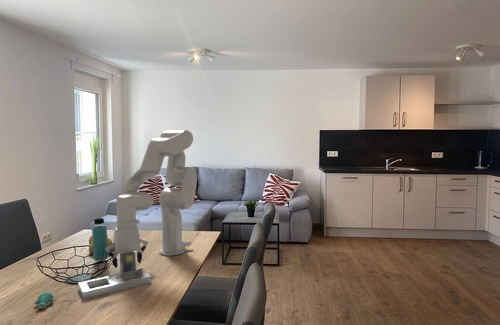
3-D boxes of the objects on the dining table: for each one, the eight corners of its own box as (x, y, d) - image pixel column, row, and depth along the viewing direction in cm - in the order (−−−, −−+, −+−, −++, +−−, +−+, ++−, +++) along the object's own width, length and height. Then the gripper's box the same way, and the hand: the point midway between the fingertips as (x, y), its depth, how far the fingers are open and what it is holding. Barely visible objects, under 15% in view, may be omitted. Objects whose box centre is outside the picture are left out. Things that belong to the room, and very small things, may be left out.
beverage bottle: (102, 264, 152) (101, 220, 151) (89, 263, 154) (87, 219, 152) (111, 259, 159) (110, 217, 158) (98, 258, 160) (97, 216, 159)
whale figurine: (57, 299, 120) (56, 289, 120) (51, 309, 113) (50, 298, 113) (38, 301, 118) (37, 291, 118) (30, 312, 111) (30, 300, 111)
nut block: (132, 268, 148) (131, 250, 148) (135, 271, 144) (135, 253, 144) (120, 270, 145) (119, 252, 145) (123, 274, 141) (123, 255, 141)
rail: (142, 274, 141) (142, 268, 141) (150, 282, 133) (150, 276, 133) (78, 289, 128) (78, 282, 127) (83, 299, 119) (82, 292, 119)
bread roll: (117, 248, 176) (117, 233, 175) (114, 254, 167) (113, 238, 166) (90, 250, 173) (90, 234, 173) (85, 256, 164) (85, 240, 163)
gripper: (144, 220, 151) (145, 258, 152) (102, 225, 142) (103, 266, 143) (150, 223, 145) (150, 262, 146) (106, 229, 135) (108, 271, 136)
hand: (127, 264), depth 144 cm, fingers open, 9 cm apart
